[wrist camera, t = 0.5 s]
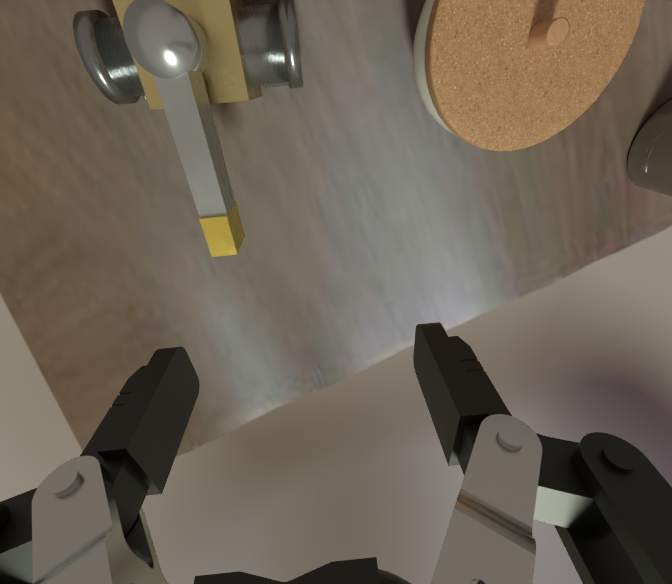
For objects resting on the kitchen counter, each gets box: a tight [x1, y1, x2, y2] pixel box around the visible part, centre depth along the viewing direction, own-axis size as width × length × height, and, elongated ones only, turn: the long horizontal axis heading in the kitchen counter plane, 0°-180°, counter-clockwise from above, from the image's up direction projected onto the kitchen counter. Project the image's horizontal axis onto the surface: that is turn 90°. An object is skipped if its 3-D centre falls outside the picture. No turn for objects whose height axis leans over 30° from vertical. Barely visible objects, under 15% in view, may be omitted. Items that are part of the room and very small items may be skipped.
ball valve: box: [73, 0, 303, 110], centre depth 22 cm, size 14×6×8 cm, turn 94°
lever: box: [123, 0, 245, 257], centre depth 20 cm, size 14×3×3 cm, turn 4°
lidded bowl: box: [413, 0, 645, 151], centre depth 22 cm, size 13×13×11 cm
